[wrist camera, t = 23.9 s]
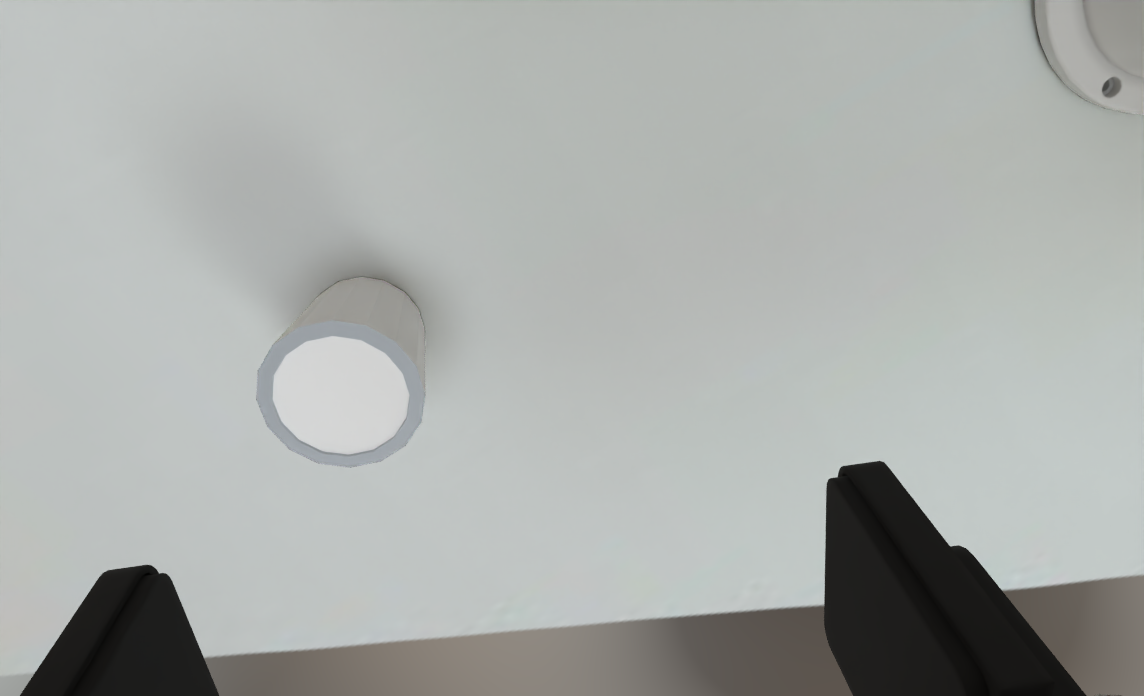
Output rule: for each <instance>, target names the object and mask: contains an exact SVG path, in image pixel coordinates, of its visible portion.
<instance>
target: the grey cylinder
mask: <svg viewBox="0 0 1144 696" xmlns="http://www.w3.org/2000/svg"><path fill="white" fill-rule="evenodd" d="M256 400H257V402H258V405H259V407H260V410H261V412H262V415H263V417H264V420H265V422H266V424H267V427H268V428H269V429H270V430H271V431H272V432H273V433H274V434H275V435H276V436H277V437H278V438H279V439H280V440H281V441H282V442H283V443H284V444H285V445H286V446H287V447H288V448H289V449H290V450H292V451H294V452H296V453H298V454H300V455H302V456H304V457H306V458H308V459H310V460H312V461H314V462H316V463H319V464H326V465H334V466H342V467H350V468H351V467H355V466H360V465H365V464H370V463H375V462H380V461H382V460H384V459H385V458H387V457H388V456H390V455H391V454H393V453H395V452H396V451H398V450H399V449H401V448H402V447H404V446H406V444H407V443H408V441H409V440H410V438H411V437H412V435H413V434H414V432H415V431H416V429H417V428H418V426H419V425H420V423H421V421H422V414H423V407H424V400H425V328H424V325H423V322H422V318H421V315H420V311H419V309H418V308H417V307H416V305H415V304H414V303H413V302H412V300H411V299H410V298H409V297H408V296H407V294H406V293H405V292H404V291H402V290H400V289H398V288H397V287H395V286H393V285H391V284H390V283H388V282H386V281H384V280H378V279H372V278H366V277H357V278H353V279H348V280H343V281H338V282H337V283H335V284H334V285H333V286H331V287H330V288H328V289H327V290H325V291H324V292H322V293H321V294H320V295H319V296H318V297H317V298H316V299H315V300H314V301H313V302H312V303H311V304H310V306H309V307H308V308H307V309H306V310H305V311H304V312H303V313H302V314H301V315H300V316H299V317H298V318H297V319H296V321H295V322H294V323H293V324H292V325H291V326H290V327H289V328H288V329H287V330H286V331H285V332H284V333H283V334H282V336H281V337H280V338H279V339H278V340H277V341H276V342H275V343H274V344H273V345H272V347H271V349H270V350H269V352H268V354H267V356H266V357H265V359H264V361H263V363H262V364H261V366H260V368H259V370H258V378H257V396H256Z"/></svg>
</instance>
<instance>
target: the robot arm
mask: <svg viewBox="0 0 1144 696" xmlns="http://www.w3.org/2000/svg"><path fill="white" fill-rule="evenodd" d="M1035 20H1036V24H1037V29H1038V34H1039V38H1040V43H1041V46H1042V48H1043V50H1044V52H1045V55H1046V57H1047V59H1048V61H1049V63H1050V66H1051V67H1052V68H1053V70H1054V71H1055V72H1056V74H1057V75H1058V76H1059V78H1060V79H1061V80H1062V81H1063V83H1064V84H1065V85H1066V86H1067V87H1069V88H1070V89H1071V90H1072V91H1074V92H1075V93H1076V94H1078V95H1079V96H1080V97H1081V98H1083V99H1085V100H1087V101H1089V102H1092V103H1094V104H1096V105H1098V106H1101V107H1103V108H1107V109H1111V110H1116V111H1120V112H1124V113H1130V114H1144V0H1035ZM824 612H825V613H824V625H825V631H826V636H827V640H828V643H829V646H830V648H831V651H832V653H833V655H834V657H835V659H836V661H837V663H838V665H839V667H840V669H841V671H842V673H843V675H844V677H845V680H846V682H847V684H848V686H849V688H850V690H851V692H852V694H853V696H1086V695H1085V694H1084V692H1083V691H1082V690H1081V688H1080V687H1079V686H1078V685H1077V683H1076V682H1075V681H1074V680H1073V679H1072V677H1071V676H1070V675H1069V674H1068V672H1067V671H1066V670H1065V669H1064V667H1063V666H1062V665H1061V664H1060V662H1059V661H1058V660H1057V659H1056V657H1055V656H1054V655H1053V654H1052V652H1051V651H1050V650H1049V649H1048V648H1047V646H1046V645H1045V644H1044V642H1043V641H1042V640H1041V639H1040V638H1039V636H1038V635H1037V634H1036V633H1035V631H1034V630H1033V629H1032V628H1031V627H1030V625H1029V624H1028V623H1027V621H1026V620H1025V619H1024V618H1023V616H1022V615H1021V614H1020V613H1019V612H1018V610H1017V609H1016V608H1015V607H1014V605H1013V604H1012V603H1011V601H1010V600H1009V599H1008V598H1007V597H1006V595H1005V594H1004V593H1003V592H1002V590H1001V589H1000V588H999V587H998V585H997V584H996V583H995V582H994V580H993V579H992V578H991V577H990V575H989V574H988V573H987V572H986V570H985V569H984V568H983V567H982V565H981V564H980V563H979V562H978V560H977V559H976V558H975V557H974V556H973V555H972V554H971V553H970V552H969V551H968V550H967V549H966V548H964V547H961V546H952V547H950V546H949V545H948V543H947V542H946V541H945V540H944V538H943V537H942V536H941V534H940V533H939V532H938V531H937V529H936V528H935V527H934V525H933V524H932V523H931V522H930V520H929V519H928V518H927V516H926V515H925V514H924V512H923V511H922V510H921V509H920V507H919V506H918V505H917V503H916V502H915V501H914V500H913V498H912V497H911V496H910V494H909V493H908V492H907V491H906V489H905V488H904V487H903V485H902V484H901V483H900V482H899V480H898V479H897V478H896V476H895V475H894V474H893V473H892V471H891V470H890V469H889V467H888V466H887V465H886V464H885V463H884V462H881V461H877V462H869V463H862V464H855V465H848V466H843V467H841V468H840V470H839V473H838V477H837V478H830V479H829V480H828V482H827V495H826V551H825V608H824ZM20 696H219V694H218V692H217V689H216V687H215V684H214V682H213V679H212V677H211V675H210V672H209V670H208V668H207V665H206V662H205V660H204V658H203V655H202V653H201V650H200V648H199V645H198V643H197V641H196V638H195V636H194V633H193V631H192V628H191V626H190V624H189V621H188V619H187V616H186V614H185V611H184V609H183V607H182V604H181V602H180V599H179V597H178V594H177V592H176V590H175V587H174V585H173V582H172V580H171V579H170V577H169V576H168V575H167V574H164V573H160V574H159V573H158V571H157V570H156V569H155V568H154V567H153V566H151V565H142V566H135V567H128V568H121V569H114V570H108V571H106V572H104V573H103V574H102V575H101V576H100V577H99V578H98V580H97V581H96V583H95V584H94V586H93V587H92V589H91V590H90V592H89V593H88V595H87V596H86V598H85V599H84V601H83V602H82V604H81V605H80V607H79V608H78V610H77V611H76V613H75V614H74V616H73V617H72V619H71V620H70V622H69V623H68V625H67V626H66V628H65V629H64V631H63V632H62V634H61V635H60V637H59V638H58V640H57V641H56V643H55V644H54V646H53V647H52V648H51V650H50V651H49V653H48V654H47V656H46V657H45V659H44V660H43V662H42V663H41V665H40V666H39V668H38V669H37V671H36V672H35V674H34V675H33V677H32V678H31V680H30V681H29V683H28V684H27V686H26V688H25V689H24V690H23V692H22V693H21V695H20ZM1095 696H1121V695H1095Z"/></svg>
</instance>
